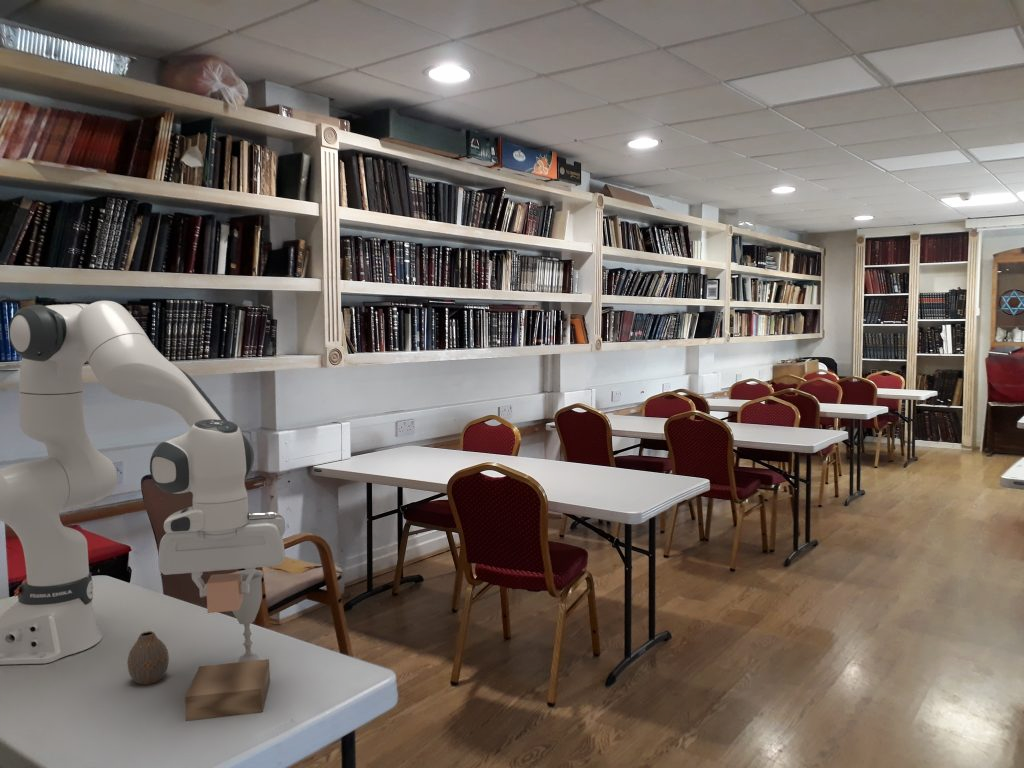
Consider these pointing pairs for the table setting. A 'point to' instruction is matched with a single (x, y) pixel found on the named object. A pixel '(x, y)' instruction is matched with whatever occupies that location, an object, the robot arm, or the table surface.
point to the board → (228, 689)
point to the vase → (148, 659)
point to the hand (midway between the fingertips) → (225, 594)
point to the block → (224, 592)
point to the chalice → (249, 611)
